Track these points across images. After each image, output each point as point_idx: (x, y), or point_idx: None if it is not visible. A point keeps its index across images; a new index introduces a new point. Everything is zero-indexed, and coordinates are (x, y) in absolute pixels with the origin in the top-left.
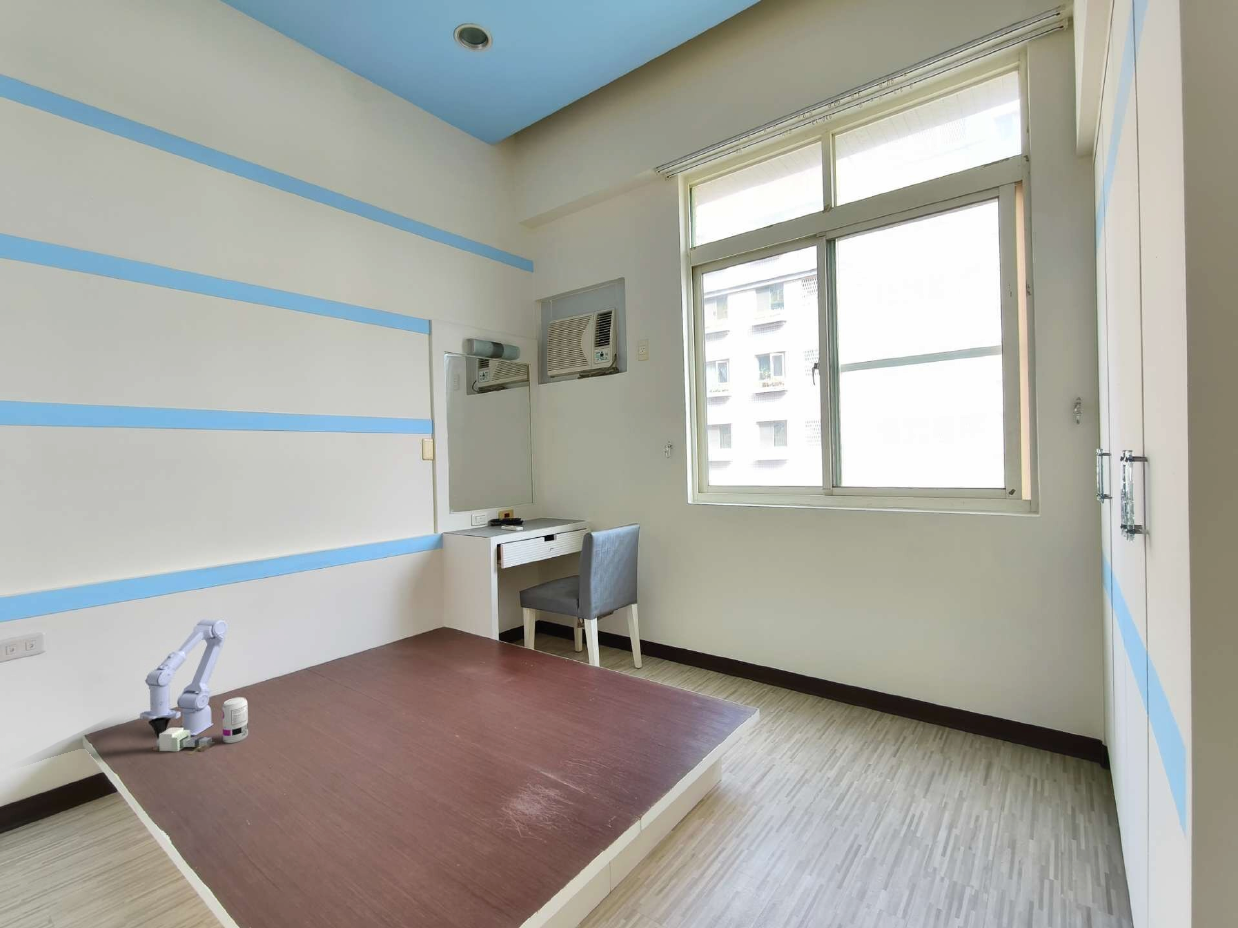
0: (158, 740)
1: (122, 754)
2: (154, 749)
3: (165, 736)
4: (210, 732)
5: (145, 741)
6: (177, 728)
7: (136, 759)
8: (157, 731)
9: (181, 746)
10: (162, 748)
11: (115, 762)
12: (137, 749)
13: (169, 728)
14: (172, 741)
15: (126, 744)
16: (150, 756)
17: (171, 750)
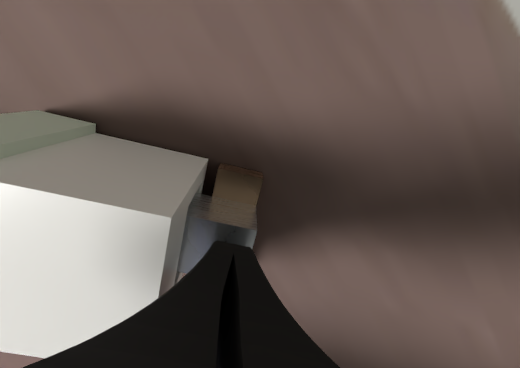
0: (231, 223)
1: (472, 168)
2: (253, 174)
3: (90, 185)
4: (22, 362)
5: (395, 325)
6: (31, 334)
7: (321, 43)
8: (235, 285)
9: None
10: (177, 156)
11: (474, 29)
12: (396, 224)
13: None
14: (19, 134)
15: (499, 310)
16: (229, 74)
17: (92, 124)
